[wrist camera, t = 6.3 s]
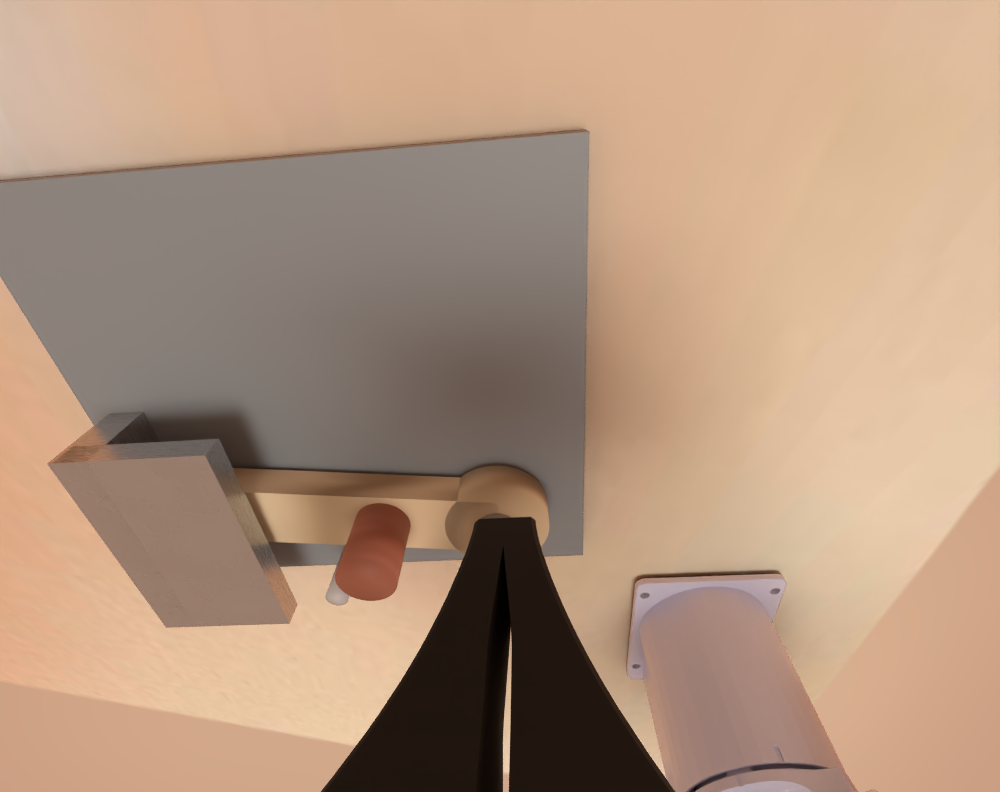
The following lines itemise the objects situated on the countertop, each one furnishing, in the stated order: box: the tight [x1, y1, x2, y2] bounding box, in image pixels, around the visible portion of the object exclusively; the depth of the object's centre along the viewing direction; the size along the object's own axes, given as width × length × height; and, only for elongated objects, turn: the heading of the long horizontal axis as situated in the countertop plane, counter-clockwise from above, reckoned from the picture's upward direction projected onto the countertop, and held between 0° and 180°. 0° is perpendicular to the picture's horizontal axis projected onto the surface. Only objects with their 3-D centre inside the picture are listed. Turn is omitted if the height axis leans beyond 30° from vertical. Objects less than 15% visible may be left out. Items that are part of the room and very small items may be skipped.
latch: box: [233, 465, 549, 601], centre depth 21 cm, size 15×5×4 cm, turn 88°
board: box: [0, 130, 589, 605], centre depth 20 cm, size 19×21×4 cm
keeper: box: [48, 411, 297, 627], centre depth 22 cm, size 10×6×4 cm, turn 5°
